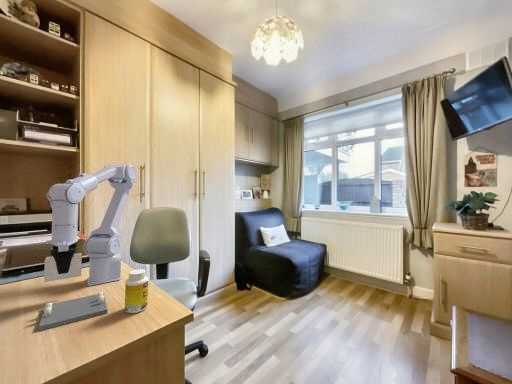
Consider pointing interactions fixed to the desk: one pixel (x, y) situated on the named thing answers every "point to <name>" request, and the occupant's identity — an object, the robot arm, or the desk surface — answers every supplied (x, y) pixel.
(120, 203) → the robot arm
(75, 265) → the block
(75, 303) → the pin tray
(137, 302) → the supplement bottle
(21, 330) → the desk surface
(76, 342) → the desk surface
